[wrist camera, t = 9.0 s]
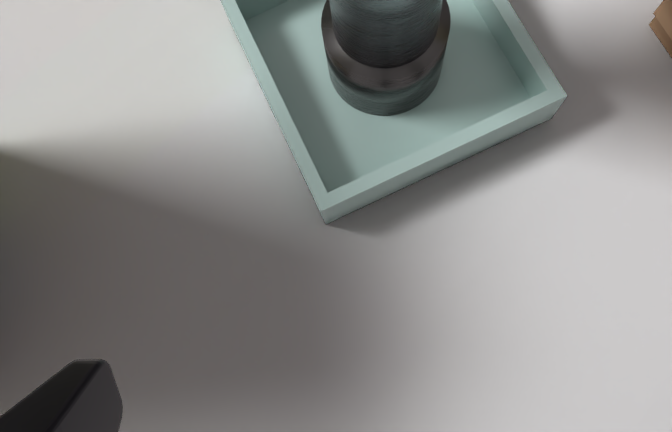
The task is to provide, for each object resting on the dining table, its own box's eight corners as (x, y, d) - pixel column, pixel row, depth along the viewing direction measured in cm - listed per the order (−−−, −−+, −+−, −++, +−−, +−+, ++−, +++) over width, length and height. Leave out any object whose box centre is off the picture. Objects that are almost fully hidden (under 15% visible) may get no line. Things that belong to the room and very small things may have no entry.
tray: (551, 118, 23) (567, 95, 21) (325, 224, 22) (320, 211, 20) (436, -71, 25) (441, -107, 23) (230, 23, 25) (217, -6, 23)
